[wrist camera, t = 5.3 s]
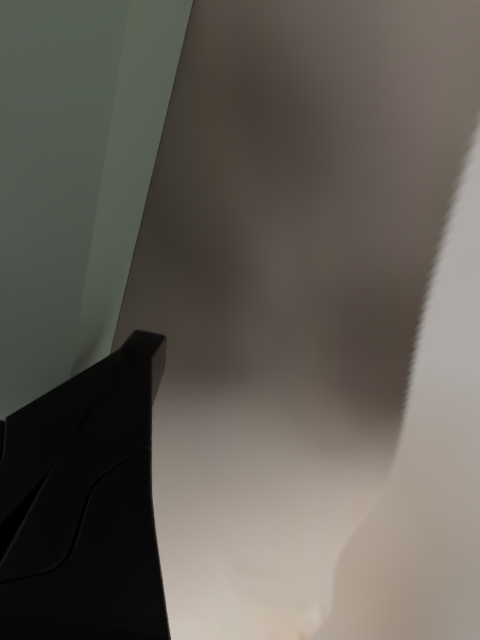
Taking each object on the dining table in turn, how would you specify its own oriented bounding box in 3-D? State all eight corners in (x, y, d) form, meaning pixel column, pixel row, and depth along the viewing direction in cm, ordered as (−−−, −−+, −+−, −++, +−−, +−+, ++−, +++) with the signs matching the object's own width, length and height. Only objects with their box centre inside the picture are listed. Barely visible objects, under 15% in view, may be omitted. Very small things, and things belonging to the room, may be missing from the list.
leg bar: (98, 404, 11) (50, 500, 8) (24, 383, 10) (-50, 477, 8) (202, -31, 5) (155, -148, 3) (52, -112, 5) (-165, -335, 2)
